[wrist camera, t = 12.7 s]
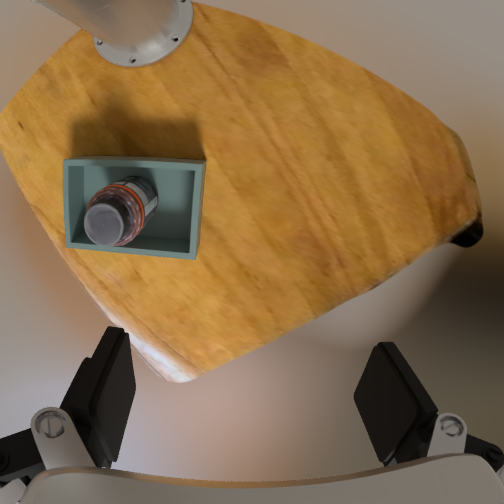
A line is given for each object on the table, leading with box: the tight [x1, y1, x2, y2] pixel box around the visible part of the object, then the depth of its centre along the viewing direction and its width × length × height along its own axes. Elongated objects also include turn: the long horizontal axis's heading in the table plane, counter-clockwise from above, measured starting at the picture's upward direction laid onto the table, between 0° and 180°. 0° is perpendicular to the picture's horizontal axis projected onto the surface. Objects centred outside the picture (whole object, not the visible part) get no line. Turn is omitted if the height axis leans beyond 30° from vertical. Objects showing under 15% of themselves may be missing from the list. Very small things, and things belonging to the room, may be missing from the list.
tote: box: [63, 156, 206, 260], centre depth 34 cm, size 10×16×5 cm, turn 83°
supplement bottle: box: [84, 176, 158, 246], centre depth 30 cm, size 6×6×11 cm
